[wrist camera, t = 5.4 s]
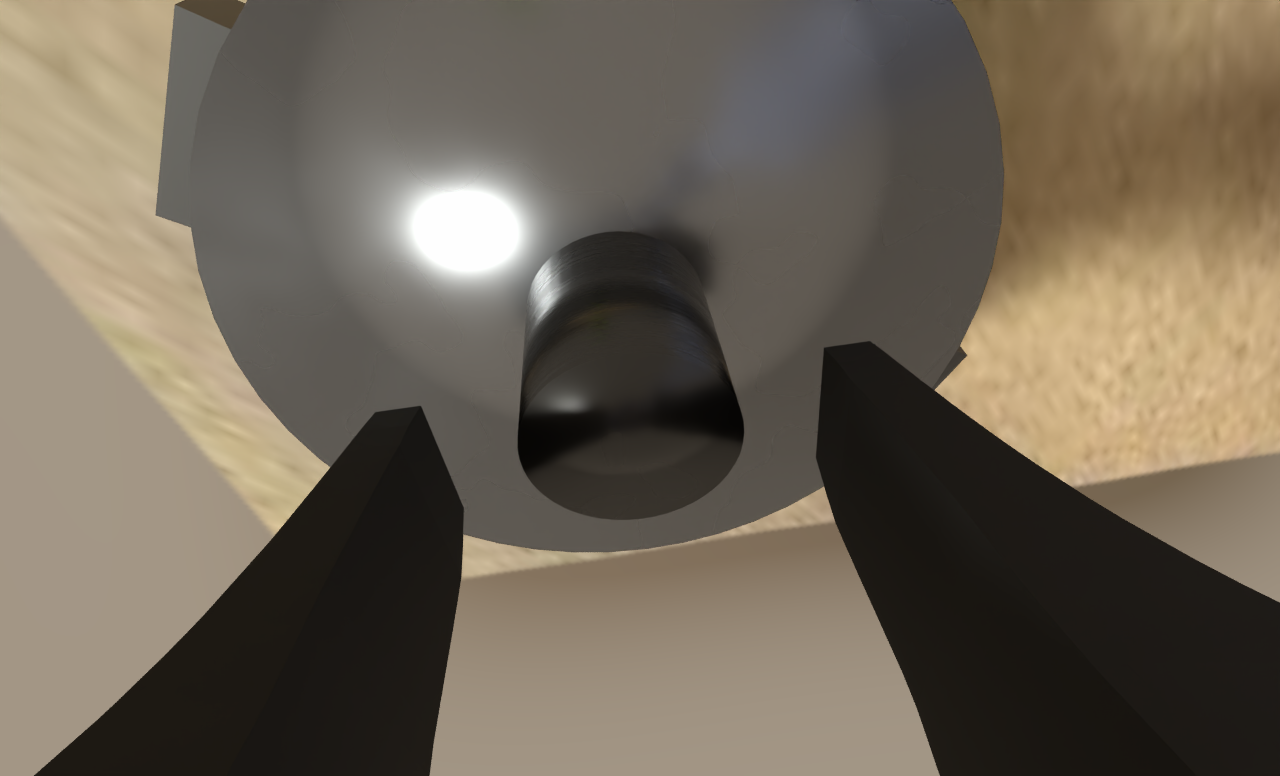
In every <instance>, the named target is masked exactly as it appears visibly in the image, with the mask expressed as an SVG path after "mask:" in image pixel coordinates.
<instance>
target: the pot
mask: <svg viewBox="0 0 1280 776" xmlns="http://www.w3.org/2000/svg"><path fill="white" fill-rule="evenodd" d="M244 5H245V3H243V2H240V1H238V0H184V1H182V2H180V3H177V4H175V8H174V19H173V30H172V41H171V52H170V63H169V74H168V85H167V96H166V107H165V118H164V129H163V140H162V151H161V162H160V173H159V183H158V194H157V205H156V216H159V217H162V218H165V219H168V220H171V221H174V222H177V223H180V224H183V225H185V226H188V227H191V224H190V161H191V154H192V148H193V142H194V135H195V129H196V123H197V116H198V111H199V108H200V105H201V102H202V99H203V96H204V93H205V90H206V87H207V84H208V81H209V78H210V75H211V72H212V69H213V66H214V64H215V61H216V58H217V55H218V53H219V51H220V49H221V47H222V45H223V44H224V42H225V40H226V38H227V36H228V34H229V33H230V31H231V29H232V27H233V25H234V24H235V22H236V20H237V18H238V16H239V14H240V13H241V11H242V9H243V7H244ZM966 356H967V354H966V353H965V352H964V351H963V349H962V348H961V347H960V346H959V348H958V349H957V351H956V353H955V354H954V356H953V357H952V359H951V360H950V362H949V363H948V365H947V367H946V368H945V370H944V371H943V373H942V374H941V376H940V377H939V379H938V381H937V382H936V383H935V385H934V386H933V387H932V389H933V390H935V389H936V388H937V387H938V386H939V384H940V383H941V382H942V381H943V380H944V379H945V378H946V377H947V376H948V375H949V374H950V373H951V372H952V371H953V370H954V369H955V368H956V367H957V366H958V365H959V363H960V362H961V361H962V360H963V359H964V358H965V357H966Z"/></svg>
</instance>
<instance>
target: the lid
mask: <svg viewBox="0 0 1280 776" xmlns="http://www.w3.org/2000/svg"><path fill="white" fill-rule="evenodd" d="M1003 183H1004V168H1003V157H1002V145H1001V134H1000V124H999V120H998V116H997V112H996V107H995V103H994V99H993V95H992V91H991V87H990V83H989V79H988V75H987V72H986V70H985V67H984V65H983V63H982V60H981V58H980V56H979V53H978V51H977V49H976V46H975V44H974V42H973V39H972V37H971V35H970V32H969V30H968V28H967V25H966V23H965V21H964V19H963V18H962V16H961V15H960V13H959V12H958V10H957V8H956V7H955V5H954V4H953V2H952V1H951V0H247V2H246V4H245V5H244V7H243V9H242V11H241V13H240V14H239V16H238V18H237V20H236V22H235V24H234V25H233V27H232V29H231V31H230V33H229V34H228V36H227V38H226V40H225V42H224V44H223V45H222V47H221V49H220V51H219V53H218V55H217V58H216V61H215V64H214V66H213V69H212V72H211V75H210V78H209V81H208V84H207V87H206V90H205V93H204V96H203V99H202V102H201V105H200V108H199V111H198V116H197V123H196V129H195V135H194V142H193V148H192V154H191V161H190V224H191V230H192V236H193V242H194V248H195V253H196V259H197V265H198V271H199V274H200V277H201V280H202V283H203V286H204V290H205V293H206V296H207V299H208V302H209V305H210V308H211V311H212V314H213V317H214V319H215V321H216V323H217V325H218V327H219V329H220V331H221V333H222V335H223V337H224V339H225V342H226V344H227V346H228V348H229V350H230V352H231V354H232V356H233V358H234V360H235V361H236V363H237V364H238V366H239V367H240V369H241V370H242V372H243V373H244V375H245V376H246V378H247V379H248V381H249V382H250V384H251V385H252V387H253V388H254V390H255V391H256V393H257V394H258V396H259V397H260V398H261V399H262V401H263V402H264V403H265V404H266V405H267V406H268V408H269V409H270V410H271V411H272V412H273V413H274V414H275V416H276V417H277V418H278V419H279V420H280V421H281V423H282V424H283V425H284V426H285V427H286V428H287V429H288V431H289V432H291V433H292V434H293V435H294V436H295V437H296V438H297V439H298V440H299V441H300V442H302V443H303V444H304V445H305V446H306V447H307V448H308V449H309V450H310V451H311V452H312V453H314V454H315V455H316V456H317V457H318V458H319V459H320V460H321V461H323V462H324V463H326V464H327V465H328V466H330V467H331V466H332V465H333V464H334V462H335V461H336V460H337V458H338V457H339V456H340V455H341V453H342V452H343V451H344V450H345V448H346V447H347V446H348V445H349V443H350V442H351V441H352V440H353V438H354V437H355V436H356V435H357V433H358V432H359V431H360V430H361V428H362V427H363V426H364V425H365V424H366V422H367V421H368V420H369V419H370V418H371V417H372V415H373V414H374V413H375V412H379V411H386V410H393V409H400V408H407V407H414V406H421V407H422V409H423V412H424V414H425V416H426V419H427V421H428V424H429V426H430V428H431V431H432V433H433V435H434V438H435V440H436V443H437V445H438V447H439V450H440V452H441V455H442V457H443V459H444V462H445V464H446V466H447V469H448V471H449V474H450V476H451V478H452V481H453V483H454V486H455V488H456V490H457V493H458V495H459V497H460V500H461V502H462V505H463V507H464V524H463V534H464V535H468V536H472V537H476V538H480V539H484V540H488V541H492V542H496V543H500V544H506V545H512V546H519V547H525V548H531V549H538V550H551V551H564V552H616V551H628V550H639V549H649V548H655V547H661V546H666V545H672V544H678V543H684V542H688V541H692V540H696V539H699V538H703V537H707V536H711V535H715V534H719V533H722V532H725V531H728V530H731V529H733V528H736V527H739V526H742V525H745V524H748V523H751V522H754V521H756V520H758V519H760V518H763V517H765V516H767V515H770V514H772V513H774V512H776V511H779V510H781V509H783V508H785V507H788V506H789V505H791V504H793V503H795V502H797V501H798V500H800V499H802V498H804V497H806V496H808V495H809V494H811V493H813V492H815V491H817V490H818V489H820V488H822V487H823V486H824V484H823V480H822V477H821V474H820V470H819V467H818V463H817V460H816V447H817V434H818V420H819V406H820V393H821V379H822V365H823V352H824V347H831V346H838V345H845V344H852V343H859V342H866V341H871V342H872V343H874V344H875V345H876V346H878V347H879V348H880V349H882V350H883V351H884V352H885V353H887V354H888V355H889V356H891V357H892V358H893V359H895V360H896V361H897V362H898V363H900V364H901V365H902V366H903V367H905V368H906V369H907V370H909V371H910V372H911V373H912V374H914V375H915V376H916V377H918V378H919V379H920V380H921V381H923V382H924V383H925V384H927V385H928V386H929V387H931V388H932V387H933V386H934V385H935V383H936V382H937V381H938V379H939V377H940V376H941V374H942V373H943V371H944V370H945V368H946V367H947V365H948V363H949V362H950V360H951V359H952V357H953V356H954V354H955V353H956V351H957V349H958V348H959V346H960V344H961V342H962V340H963V338H964V336H965V334H966V332H967V330H968V328H969V326H970V324H971V321H972V319H973V317H974V315H975V313H976V311H977V309H978V306H979V304H980V301H981V298H982V295H983V292H984V289H985V286H986V283H987V280H988V277H989V275H990V272H991V269H992V265H993V260H994V255H995V250H996V245H997V240H998V235H999V230H1000V225H1001V217H1002V200H1003Z"/></svg>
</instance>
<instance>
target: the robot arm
mask: <svg viewBox="0 0 1280 776" xmlns="http://www.w3.org/2000/svg"><path fill="white" fill-rule="evenodd" d="M816 460H817V463H818V467H819V470H820V474H821V477H822V480H823V484H824V487H825V491H826V494H827V497H828V500H829V503H830V507H831V510H832V513H833V516H834V519H835V522H836V525H837V527H838V529H839V532H840V534H841V536H842V539H843V541H844V543H845V545H846V548H847V550H848V552H849V555H850V557H851V559H852V561H853V563H854V566H855V568H856V570H857V573H858V575H859V577H860V579H861V581H862V584H863V586H864V588H865V590H866V592H867V595H868V597H869V599H870V601H871V604H872V606H873V608H874V610H875V612H876V615H877V617H878V619H879V621H880V623H881V626H882V628H883V630H884V633H885V635H886V637H887V639H888V641H889V644H890V646H891V648H892V650H893V653H894V655H895V657H896V659H897V661H898V664H899V666H900V668H901V670H902V672H903V675H904V677H905V680H906V682H907V685H908V687H909V689H910V692H911V695H912V697H913V700H914V702H915V705H916V707H917V710H918V712H919V716H920V718H921V722H922V724H923V727H924V730H925V733H926V736H927V739H928V742H929V745H930V748H931V751H932V754H933V757H934V759H935V763H936V766H937V768H938V771H939V774H940V776H1280V603H1279V602H1277V601H1275V600H1273V599H1271V598H1269V597H1267V596H1265V595H1263V594H1261V593H1259V592H1257V591H1255V590H1253V589H1251V588H1249V587H1247V586H1245V585H1243V584H1241V583H1239V582H1237V581H1235V580H1233V579H1231V578H1229V577H1228V576H1226V575H1224V574H1222V573H1220V572H1218V571H1216V570H1214V569H1212V568H1210V567H1208V566H1206V565H1205V564H1203V563H1201V562H1199V561H1197V560H1195V559H1193V558H1191V557H1190V556H1188V555H1186V554H1184V553H1183V552H1181V551H1179V550H1177V549H1176V548H1174V547H1172V546H1170V545H1168V544H1167V543H1165V542H1163V541H1161V540H1159V539H1158V538H1156V537H1154V536H1153V535H1151V534H1149V533H1147V532H1145V531H1144V530H1142V529H1140V528H1138V527H1136V526H1135V525H1133V524H1131V523H1129V522H1128V521H1125V520H1124V519H1122V518H1121V517H1119V516H1117V515H1116V514H1114V513H1113V512H1111V511H1109V510H1108V509H1106V508H1104V507H1103V506H1101V505H1099V504H1098V503H1096V502H1094V501H1093V500H1091V499H1089V498H1088V497H1086V496H1085V495H1083V494H1082V493H1080V492H1079V491H1077V490H1075V489H1074V488H1072V487H1071V486H1069V485H1068V484H1066V483H1065V482H1063V481H1062V480H1060V479H1058V478H1057V477H1055V476H1054V475H1052V474H1051V473H1049V472H1048V471H1046V470H1045V469H1043V468H1042V467H1040V466H1038V465H1037V464H1035V463H1034V462H1032V461H1031V460H1030V459H1028V458H1027V457H1025V456H1024V455H1022V454H1021V453H1019V452H1018V451H1016V450H1015V449H1014V448H1012V447H1011V446H1009V445H1008V444H1006V443H1005V442H1003V441H1002V440H1001V439H999V438H998V437H996V436H995V435H994V434H992V433H991V432H989V431H988V430H987V429H985V428H984V427H983V426H981V425H980V424H978V423H977V422H976V421H974V420H973V419H972V418H970V417H969V416H967V415H966V414H965V413H963V412H962V411H961V410H959V409H958V408H957V407H955V406H954V405H953V404H951V403H950V402H949V401H947V400H946V399H945V398H944V397H942V396H941V395H940V394H938V393H937V392H936V391H934V390H933V389H932V388H931V387H929V386H928V385H927V384H925V383H924V382H923V381H921V380H920V379H919V378H918V377H916V376H915V375H914V374H912V373H911V372H910V371H909V370H907V369H906V368H905V367H903V366H902V365H901V364H900V363H898V362H897V361H896V360H895V359H893V358H892V357H891V356H889V355H888V354H887V353H885V352H884V351H883V350H882V349H880V348H879V347H878V346H876V345H875V344H874V343H872V342H871V341H866V342H859V343H852V344H845V345H838V346H831V347H824V352H823V365H822V379H821V393H820V406H819V420H818V434H817V447H816ZM463 524H464V507H463V505H462V502H461V500H460V497H459V495H458V493H457V490H456V488H455V486H454V483H453V481H452V478H451V476H450V474H449V471H448V469H447V466H446V464H445V462H444V459H443V457H442V455H441V452H440V450H439V447H438V445H437V443H436V440H435V438H434V435H433V433H432V431H431V428H430V426H429V424H428V421H427V419H426V416H425V414H424V412H423V409H422V407H421V406H414V407H407V408H400V409H393V410H386V411H379V412H375V413H374V414H373V415H372V417H371V418H370V419H369V420H368V421H367V422H366V424H365V425H364V426H363V427H362V428H361V430H360V431H359V432H358V433H357V435H356V436H355V437H354V438H353V440H352V441H351V442H350V443H349V445H348V446H347V447H346V448H345V450H344V451H343V452H342V453H341V455H340V456H339V457H338V458H337V460H336V461H335V462H334V464H333V465H332V466H331V467H330V469H329V470H328V471H327V472H326V474H325V475H324V476H323V477H322V479H321V480H320V481H319V482H318V484H317V485H316V486H315V487H314V489H313V490H312V491H311V492H310V493H309V495H308V496H307V497H306V498H305V499H304V501H303V502H302V503H301V504H300V506H299V507H298V508H297V509H296V510H295V512H294V513H293V514H292V515H291V517H290V518H289V519H288V520H287V521H286V523H285V524H284V525H283V526H282V527H281V529H280V530H279V531H278V532H277V534H276V535H275V536H274V537H273V538H272V539H271V541H270V542H269V543H268V544H267V545H266V546H265V547H264V549H263V550H262V551H261V552H260V553H259V554H258V555H257V556H256V558H255V559H254V560H253V561H252V562H251V563H250V564H249V565H248V566H247V568H246V569H245V570H244V571H243V572H242V573H241V574H240V575H239V576H238V578H237V579H236V580H235V581H234V582H233V583H232V584H231V585H230V587H229V588H228V589H227V590H226V591H225V592H224V593H223V594H222V596H221V597H220V598H219V599H218V600H217V601H216V602H215V604H213V606H212V607H211V608H210V609H209V610H208V611H207V612H206V613H205V615H204V616H203V617H202V618H201V619H200V620H199V621H198V622H197V623H196V624H195V625H194V626H193V627H192V628H191V629H190V630H189V631H188V632H187V633H186V634H185V635H184V636H183V637H182V638H181V639H180V640H179V641H178V642H177V643H176V645H174V646H173V648H172V649H171V650H170V651H169V652H168V653H167V654H166V655H165V656H164V657H163V658H162V659H161V660H160V661H159V662H158V663H157V664H155V665H154V667H152V668H151V669H150V670H149V671H148V672H147V673H146V674H145V675H144V676H143V677H142V678H141V679H140V680H139V681H138V682H137V683H136V684H135V685H134V686H133V687H132V688H131V689H130V690H129V691H128V692H127V693H125V694H124V696H122V697H121V699H119V700H118V701H117V702H116V703H115V704H114V705H113V706H112V707H111V708H110V709H109V710H108V711H106V712H105V713H104V714H103V715H102V716H101V717H100V718H99V719H98V720H97V721H96V722H95V723H93V724H92V725H91V726H90V727H89V728H88V729H87V730H85V731H84V732H83V733H82V734H81V735H80V736H79V737H77V738H76V739H75V740H74V741H73V742H72V743H71V744H69V745H68V746H67V747H66V748H65V749H64V750H63V751H61V752H60V753H59V754H58V755H57V756H56V757H55V758H54V759H52V760H51V761H50V762H49V763H48V764H47V765H46V766H45V767H43V768H42V769H41V770H40V771H39V772H38V773H37V774H35V775H34V776H429V775H430V767H431V759H432V751H433V743H434V737H435V731H436V725H437V719H438V714H439V708H440V701H441V696H442V690H443V684H444V678H445V673H446V667H447V660H448V655H449V649H450V643H451V637H452V632H453V626H454V619H455V613H456V607H457V601H458V595H459V588H460V582H461V574H462V554H463Z"/></svg>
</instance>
